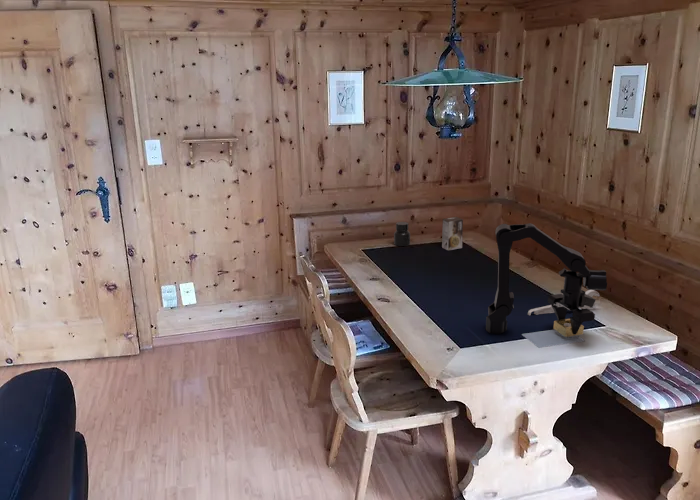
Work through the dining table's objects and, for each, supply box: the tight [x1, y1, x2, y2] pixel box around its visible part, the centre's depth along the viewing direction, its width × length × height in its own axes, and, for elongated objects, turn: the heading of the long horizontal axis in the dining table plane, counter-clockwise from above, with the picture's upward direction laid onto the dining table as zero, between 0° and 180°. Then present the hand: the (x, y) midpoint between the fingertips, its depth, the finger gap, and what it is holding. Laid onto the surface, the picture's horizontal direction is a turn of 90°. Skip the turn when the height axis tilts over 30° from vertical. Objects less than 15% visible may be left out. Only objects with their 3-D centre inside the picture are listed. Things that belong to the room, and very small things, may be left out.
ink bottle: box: [393, 221, 411, 247], centre depth 313 cm, size 10×9×12 cm
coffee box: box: [441, 216, 464, 251], centre depth 304 cm, size 9×6×16 cm
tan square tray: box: [552, 318, 585, 337], centre depth 199 cm, size 7×7×3 cm
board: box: [521, 323, 586, 349], centre depth 198 cm, size 18×11×5 cm, turn 105°
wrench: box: [527, 289, 600, 316], centre depth 220 cm, size 8×2×30 cm
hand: (568, 330), depth 199 cm, fingers closed on tan square tray, 7 cm apart
